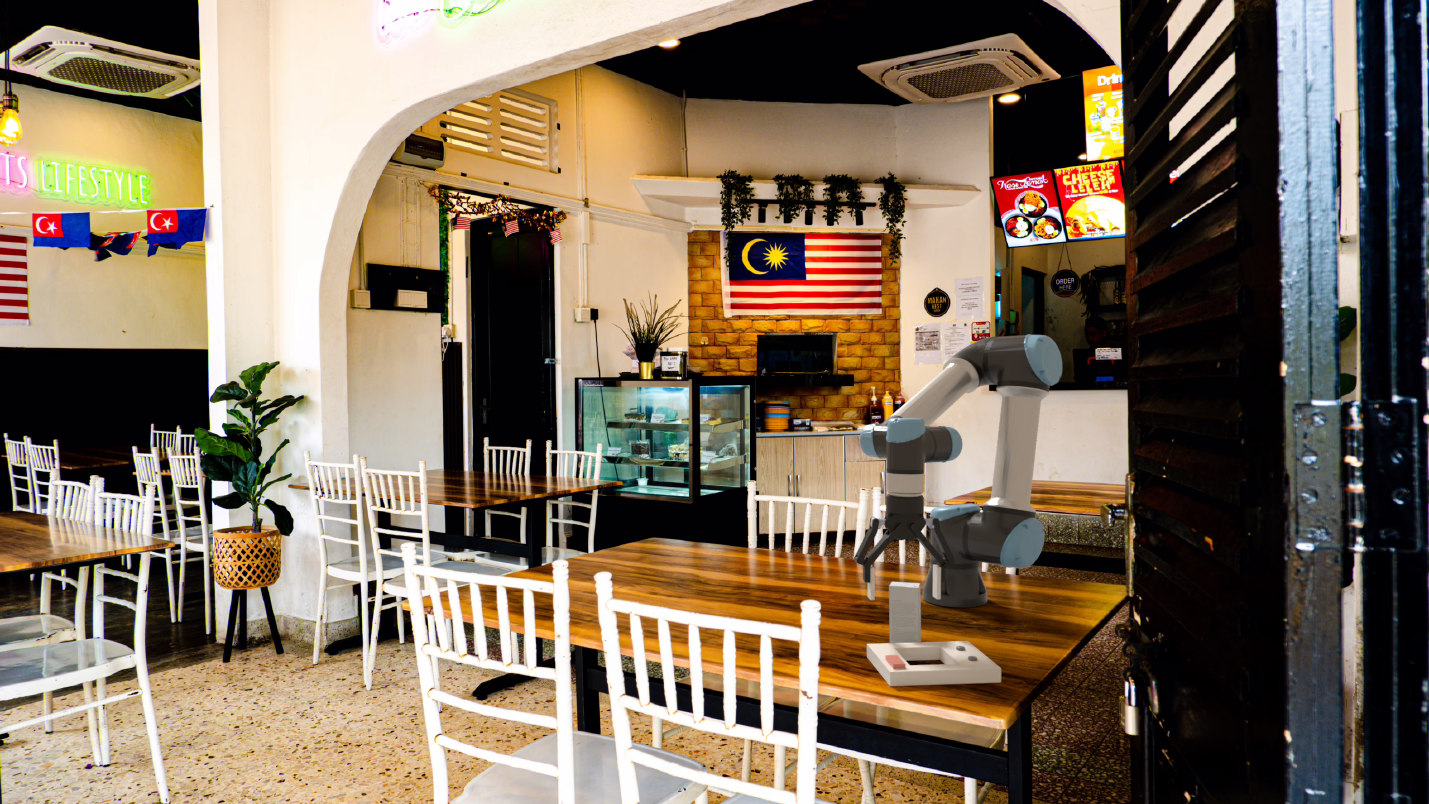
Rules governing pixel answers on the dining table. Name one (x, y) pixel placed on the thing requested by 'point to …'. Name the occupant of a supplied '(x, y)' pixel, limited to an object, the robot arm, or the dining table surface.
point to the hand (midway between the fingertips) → (903, 598)
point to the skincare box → (904, 612)
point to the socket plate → (957, 669)
